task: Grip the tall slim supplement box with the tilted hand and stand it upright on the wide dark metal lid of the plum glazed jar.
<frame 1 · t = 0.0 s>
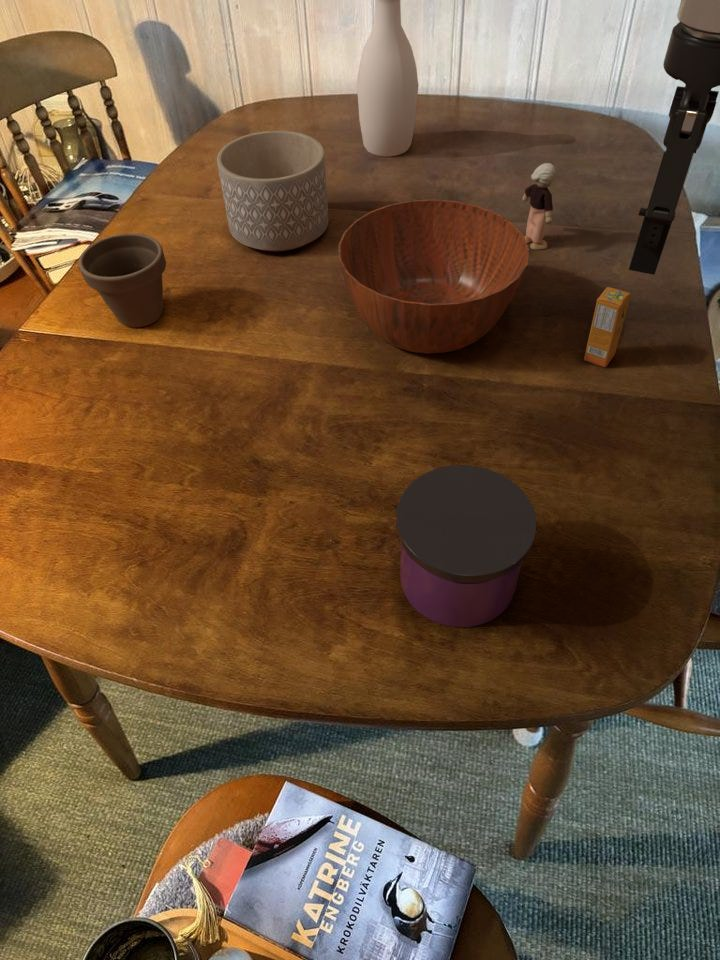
hand: (651, 238, 81), 19 cm above the table, tool pointing down, fingers open, 13 cm apart
bowl: (428, 320, 103), on the table
supplement box: (597, 359, 97), on the table
flower pot: (139, 316, 105), on the table
grandmother figurine: (532, 242, 115), on the table
bottle: (387, 147, 138), on the table
planter: (279, 231, 120), on the table
jar: (457, 576, 75), on the table
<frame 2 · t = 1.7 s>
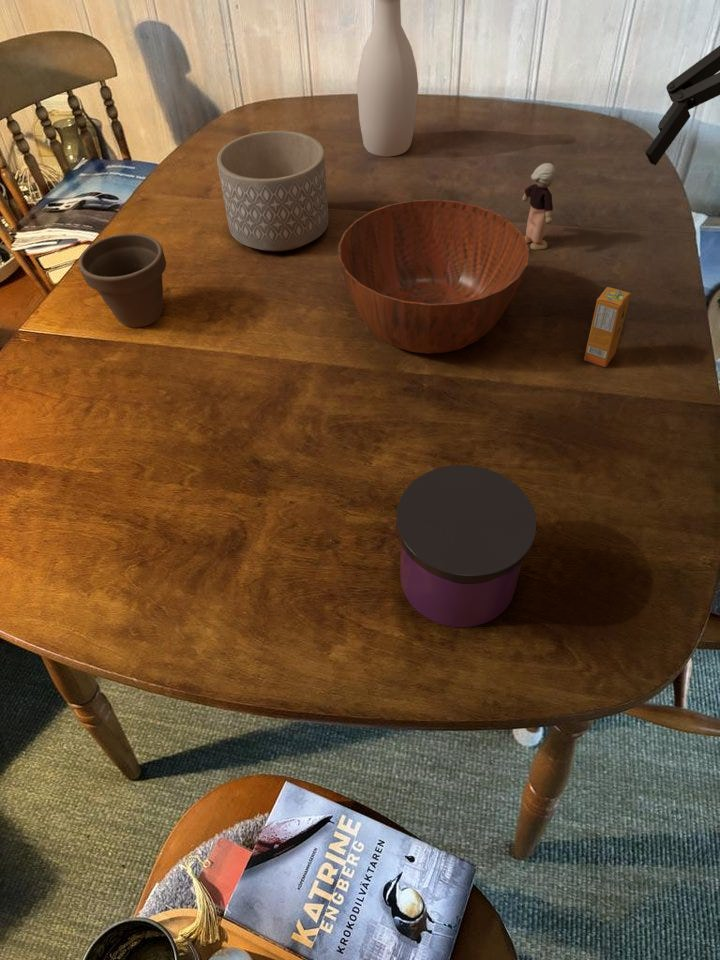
hand: (697, 180, 84), 21 cm above the table, tool tilted 45°, fingers open, 13 cm apart
nothing on the table moved.
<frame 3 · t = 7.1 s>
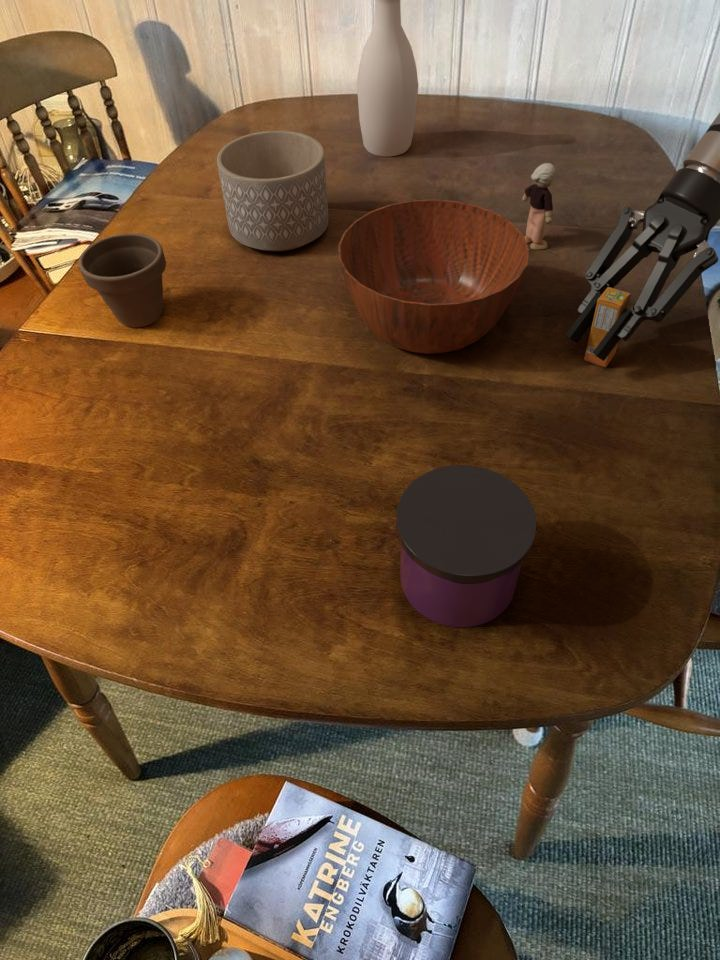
hand: (584, 347, 92), 4 cm above the table, tool tilted 45°, fingers closed on supplement box, 4 cm apart
supplement box: (597, 359, 97), on the table, touching gripper
everything else where it was.
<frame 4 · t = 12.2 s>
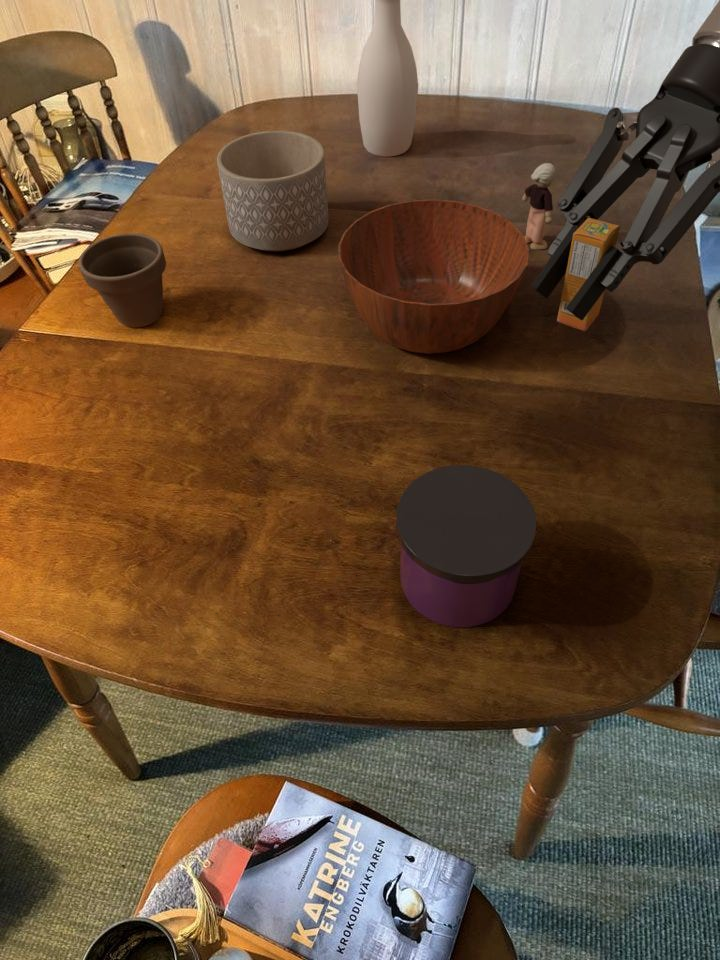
hand: (556, 302, 68), 22 cm above the table, tool tilted 45°, fingers closed on supplement box, 4 cm apart
supplement box: (575, 320, 72), point 19 cm above the table, touching gripper
everything else where it was.
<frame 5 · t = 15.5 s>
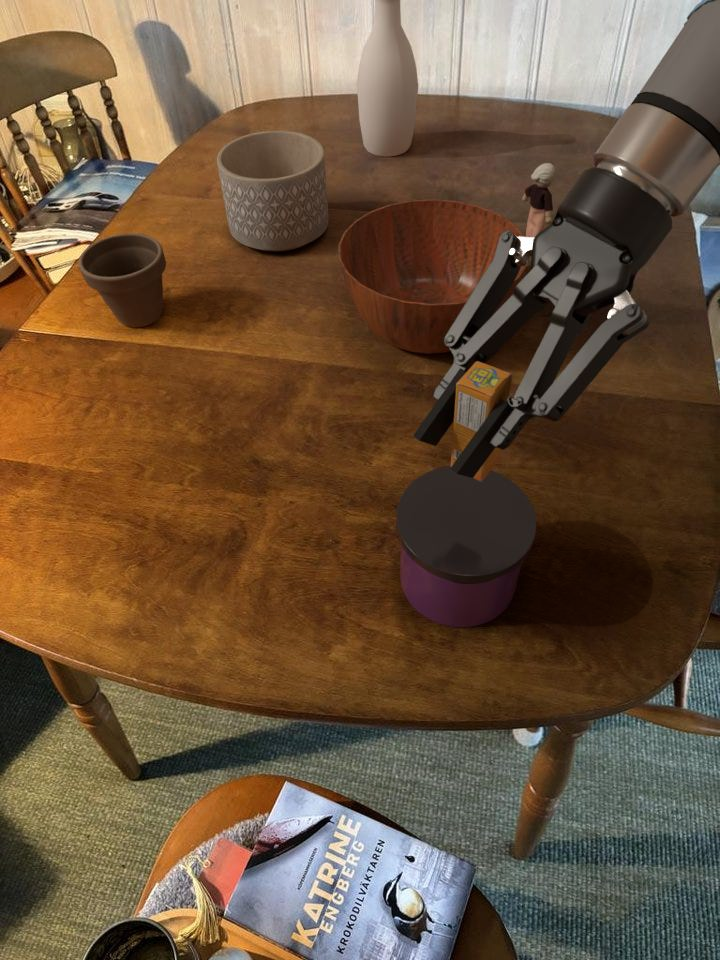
hand: (443, 456, 57), 21 cm above the table, tool tilted 45°, fingers closed on supplement box, 4 cm apart
supplement box: (472, 465, 62), point 17 cm above the table, touching gripper
everything else where it was.
when the fingers open (14 cm above the table, at t = 17.7 s): supplement box stays where it is, resting on jar.
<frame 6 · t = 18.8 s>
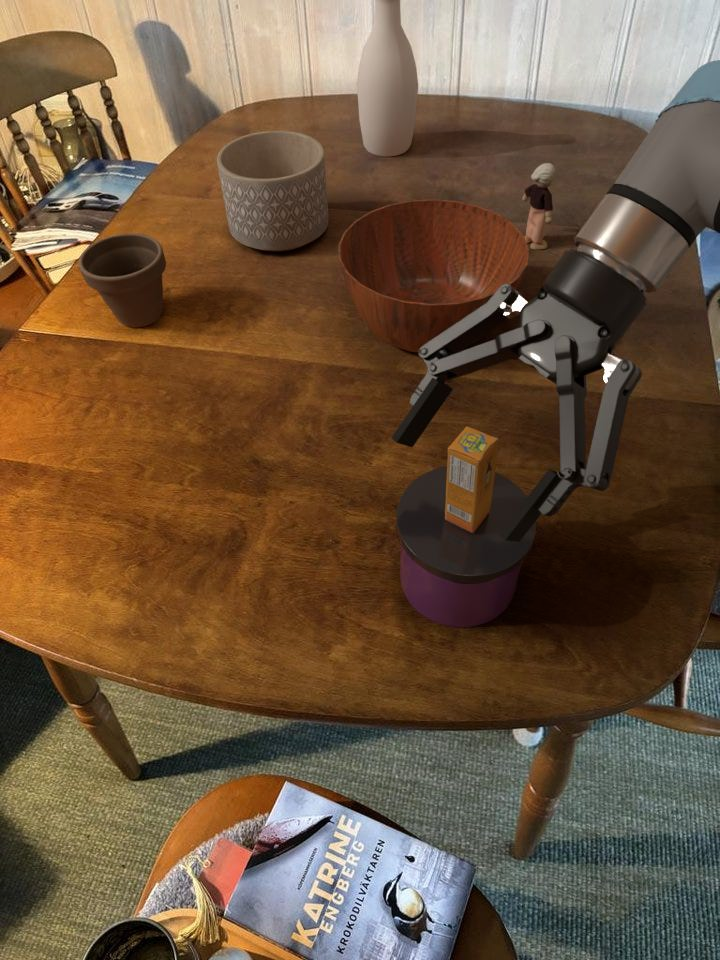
hand: (452, 488, 62), 16 cm above the table, tool tilted 45°, fingers open, 13 cm apart
supplement box: (465, 517, 67), point 10 cm above the table, touching jar
everything else where it was.
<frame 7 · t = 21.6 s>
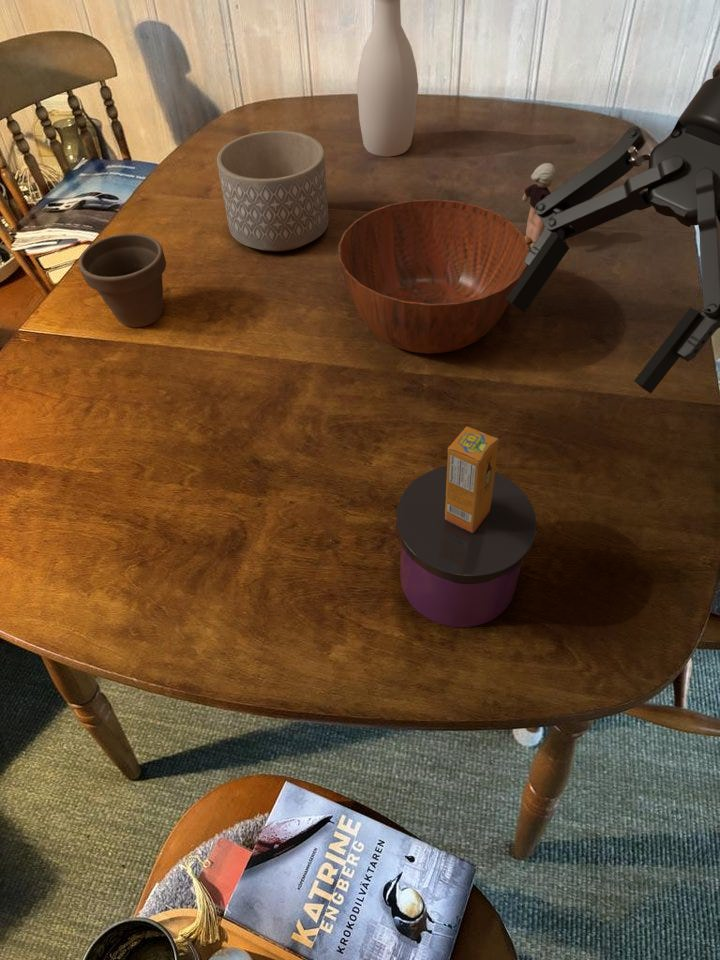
hand: (574, 344, 59), 25 cm above the table, tool tilted 45°, fingers open, 13 cm apart
nothing on the table moved.
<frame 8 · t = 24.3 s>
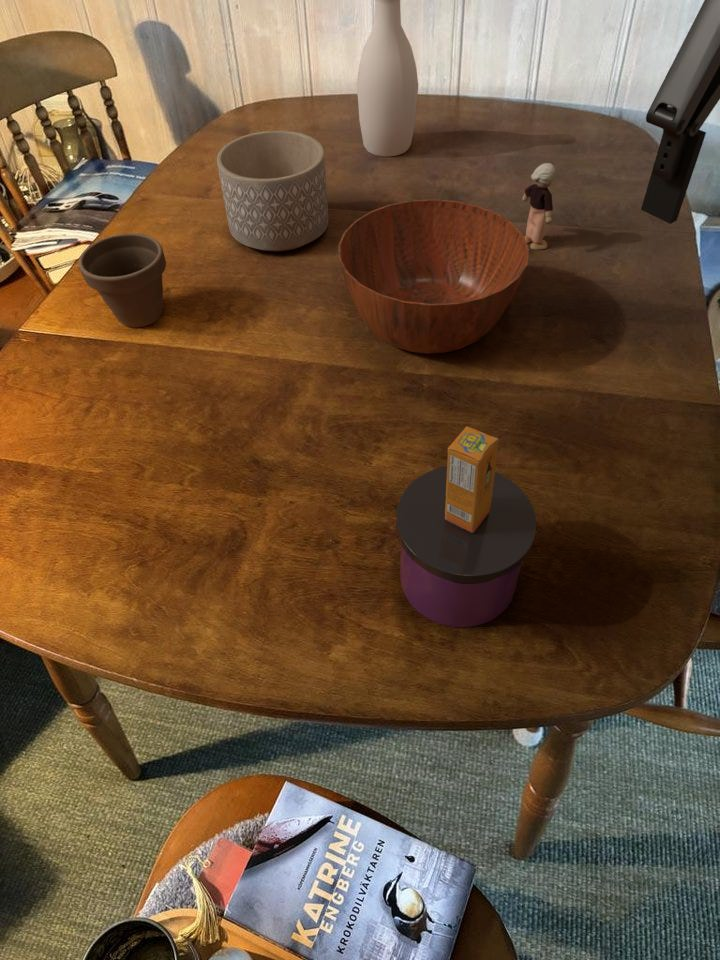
hand: (712, 186, 57), 35 cm above the table, tool pointing down, fingers open, 13 cm apart
nothing on the table moved.
at the end: supplement box inside the target area on the jar (0.1 cm from its centre), point 10.0 cm above the jar's base; supplement box tilted 0°; the gripper is holding nothing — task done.
